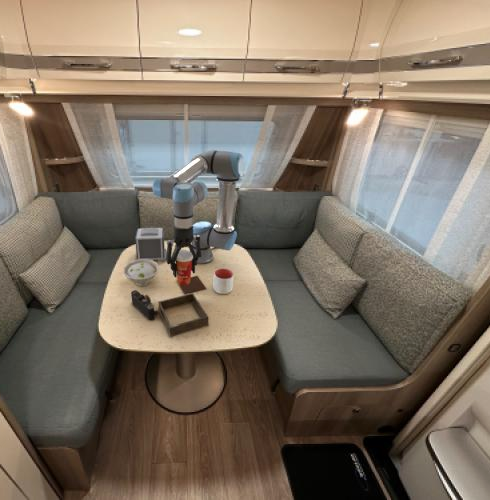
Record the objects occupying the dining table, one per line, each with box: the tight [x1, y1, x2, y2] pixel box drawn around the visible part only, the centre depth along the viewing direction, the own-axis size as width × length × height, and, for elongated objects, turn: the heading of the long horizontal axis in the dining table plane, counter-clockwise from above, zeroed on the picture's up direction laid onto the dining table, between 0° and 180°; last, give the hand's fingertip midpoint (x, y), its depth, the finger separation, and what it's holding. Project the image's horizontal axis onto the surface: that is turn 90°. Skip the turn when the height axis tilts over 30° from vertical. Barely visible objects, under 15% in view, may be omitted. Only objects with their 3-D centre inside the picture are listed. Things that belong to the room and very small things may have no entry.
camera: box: [130, 289, 159, 321], centre depth 125 cm, size 16×7×8 cm, turn 42°
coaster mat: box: [176, 275, 207, 295], centre depth 144 cm, size 12×12×1 cm
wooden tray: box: [157, 292, 209, 337], centre depth 121 cm, size 18×18×5 cm
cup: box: [212, 267, 235, 295], centre depth 138 cm, size 10×10×10 cm
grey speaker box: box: [134, 227, 167, 262], centre depth 165 cm, size 18×13×18 cm
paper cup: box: [175, 249, 193, 286], centre depth 113 cm, size 8×8×14 cm
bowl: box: [122, 259, 160, 287], centre depth 143 cm, size 19×19×10 cm
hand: (183, 273), depth 114 cm, fingers closed on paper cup, 8 cm apart
